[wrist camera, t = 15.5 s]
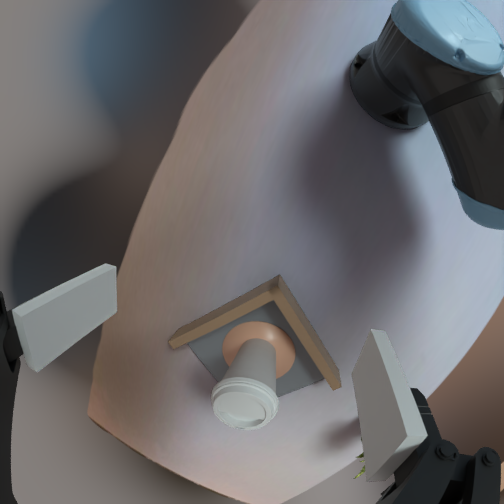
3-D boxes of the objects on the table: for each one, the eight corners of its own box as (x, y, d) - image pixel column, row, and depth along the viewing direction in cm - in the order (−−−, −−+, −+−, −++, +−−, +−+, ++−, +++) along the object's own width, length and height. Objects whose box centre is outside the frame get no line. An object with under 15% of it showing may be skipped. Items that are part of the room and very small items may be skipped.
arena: (279, 274, 44) (277, 285, 39) (338, 370, 46) (341, 386, 41) (178, 328, 49) (167, 341, 45) (242, 407, 52) (237, 423, 47)
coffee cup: (222, 358, 48) (196, 414, 34) (246, 320, 46) (225, 375, 31) (267, 381, 48) (255, 441, 34) (295, 347, 46) (291, 407, 31)
